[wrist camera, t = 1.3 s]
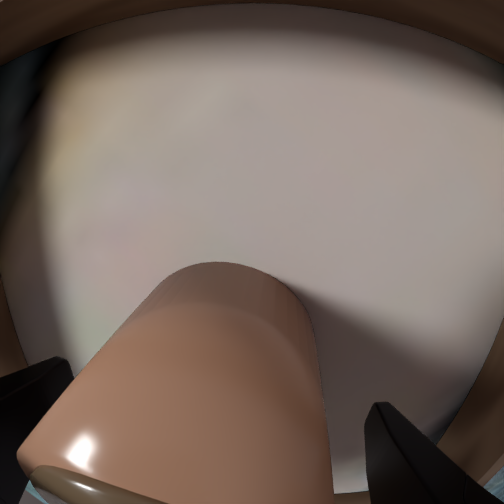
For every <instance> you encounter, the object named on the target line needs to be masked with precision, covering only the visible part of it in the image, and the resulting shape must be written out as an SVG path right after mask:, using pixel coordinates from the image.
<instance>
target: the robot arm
mask: <svg viewBox="0 0 504 504" xmlns="http://www.w3.org/2000/svg"><path fill="white" fill-rule="evenodd" d="M73 380H74V376H73V373H72V370H71V367H70V364H69V362H68V361H67V360H66V359H64V358H61V357H58V356H55V357H53V358H50V359H47V360H45V361H42V362H40V363H37V364H35V365H32V366H29V367H27V368H24V369H21V370H19V371H16V372H13V373H11V374H8V375H5V376H3V377H0V504H19V501H20V499H21V497H22V495H23V492H24V490H25V488H26V486H27V484H28V481H29V478H28V477H27V476H26V474H25V473H24V471H23V470H22V468H21V466H20V465H19V462H18V460H17V451H18V449H19V448H20V446H21V445H22V444H23V442H24V441H25V440H26V438H27V437H28V436H29V435H30V433H31V432H32V431H33V429H34V428H35V427H36V426H37V424H38V423H39V422H40V420H41V419H42V418H43V417H44V415H45V414H46V413H47V412H48V410H49V409H50V408H51V407H52V406H53V404H54V403H55V402H56V401H57V399H58V398H59V397H60V396H61V395H62V393H63V392H64V391H65V390H66V389H67V387H68V386H69V385H70V384H71V383H72V381H73ZM364 434H365V453H366V474H367V481H368V488H369V494H370V501H371V504H504V502H502V501H501V500H499V499H498V498H497V497H495V496H494V495H492V494H491V493H490V492H488V491H487V490H486V489H484V488H483V487H482V486H481V485H480V484H478V483H477V482H476V481H475V480H474V479H473V478H472V477H470V476H469V475H468V474H467V475H466V472H465V471H464V470H462V469H461V468H460V467H459V466H458V465H457V464H456V463H455V462H454V461H452V460H451V459H450V458H449V457H448V456H447V455H446V454H445V453H444V452H442V451H441V450H440V449H439V448H438V447H437V446H436V445H435V444H434V443H433V442H431V441H430V440H429V439H428V438H427V437H426V436H425V435H424V434H423V433H422V432H421V431H419V430H418V429H417V428H416V427H415V426H414V425H413V424H412V423H411V422H410V421H409V420H408V419H406V418H405V417H404V416H403V415H402V414H401V413H400V412H399V411H398V410H397V409H396V408H395V407H393V406H392V405H391V404H390V403H389V402H376V403H374V404H373V405H372V407H371V409H370V412H369V414H368V416H367V419H366V421H365V425H364Z"/></svg>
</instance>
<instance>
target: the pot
mask: <svg viewBox="0 0 504 504" xmlns="http://www.w3.org/2000/svg"><path fill="white" fill-rule="evenodd" d="M17 460H18V462H19V465H20V466H21V468H22V470H23V471H24V473H25V474H26V476H27V477H28V478H29V480H30V481H31V483H32V485H33V487H34V488H35V489H36V491H37V492H38V493H39V494H40V495H41V497H42V498H43V499H44V500H45V501H46V502H47V503H49V504H335V502H334V489H333V478H332V467H331V457H330V447H329V438H328V430H327V421H326V413H325V405H324V397H323V390H322V383H321V375H320V368H319V362H318V355H317V348H316V342H315V336H314V331H313V326H312V323H311V320H310V317H309V315H308V313H307V311H306V309H305V308H304V306H303V304H302V303H301V302H300V300H299V299H298V298H297V297H296V295H295V294H294V293H293V292H291V291H290V290H289V289H288V288H287V287H286V286H285V285H284V284H282V283H281V282H279V281H278V280H277V279H275V278H273V277H272V276H270V275H268V274H266V273H264V272H262V271H259V270H257V269H255V268H252V267H248V266H245V265H241V264H236V263H229V262H207V263H199V264H195V265H191V266H188V267H185V268H183V269H180V270H178V271H176V272H175V273H173V274H171V275H169V276H168V277H167V278H166V279H164V280H163V281H162V282H161V283H160V284H159V285H158V286H157V287H156V288H155V289H154V290H153V291H152V292H151V293H150V294H149V296H148V297H147V298H146V299H145V300H144V301H143V302H142V303H141V304H140V305H139V306H138V307H137V309H136V310H135V311H134V312H133V313H132V314H131V315H130V316H129V317H128V318H127V320H126V321H125V322H124V323H123V324H122V325H121V326H120V327H119V328H118V330H117V331H116V332H115V333H114V334H113V335H112V336H111V337H110V338H109V340H108V341H107V342H106V343H105V344H104V345H103V346H102V348H101V349H100V350H99V351H98V352H97V353H96V354H95V356H94V357H93V358H92V359H91V360H90V361H89V363H88V364H87V365H86V366H85V367H84V368H83V370H82V371H81V372H80V373H79V374H78V375H77V377H76V378H75V379H74V380H73V381H72V383H71V384H70V385H69V386H68V387H67V389H66V390H65V391H64V392H63V393H62V395H61V396H60V397H59V398H58V399H57V401H56V402H55V403H54V404H53V406H52V407H51V408H50V409H49V410H48V412H47V413H46V414H45V415H44V417H43V418H42V419H41V420H40V422H39V423H38V424H37V426H36V427H35V428H34V429H33V431H32V432H31V433H30V435H29V436H28V437H27V438H26V440H25V441H24V442H23V444H22V445H21V446H20V448H19V449H18V451H17Z"/></svg>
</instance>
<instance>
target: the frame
mask: <svg viewBox="0 0 504 504" xmlns="http://www.w3.org/2000/svg"><path fill="white" fill-rule="evenodd" d="M228 3H279V4H296V5H307V6H317V7H325V8H332V9H339V10H345V11H351V12H356V13H361V14H366V15H371V16H375V17H379V18H384V19H388V20H391V21H395V22H399V23H402V24H406V25H409V26H412V27H416V28H419V29H422V30H425V31H428V32H431V33H434V34H436V35H439V36H442V37H444V38H447V39H450V40H452V41H455V42H457V43H459V44H462V45H464V46H466V47H469V48H471V49H473V50H475V51H477V52H480V53H482V54H484V55H486V56H488V57H490V58H492V59H494V60H496V61H498V62H499V63H501V64H503V65H504V0H0V66H2V65H4V64H6V63H8V62H9V61H11V60H13V59H15V58H17V57H19V56H21V55H23V54H25V53H27V52H30V51H32V50H34V49H36V48H38V47H41V46H43V45H45V44H48V43H50V42H53V41H55V40H58V39H60V38H63V37H65V36H68V35H71V34H74V33H76V32H79V31H82V30H85V29H88V28H91V27H95V26H98V25H101V24H105V23H108V22H112V21H116V20H120V19H124V18H128V17H132V16H137V15H141V14H146V13H151V12H157V11H162V10H169V9H175V8H183V7H191V6H200V5H212V4H228ZM27 367H28V365H27V362H26V360H25V357H24V355H23V352H22V349H21V346H20V344H19V341H18V338H17V335H16V332H15V329H14V325H13V322H12V319H11V316H10V312H9V309H8V305H7V301H6V297H5V293H4V289H3V285H2V281H1V276H0V377H3V376H5V375H8V374H11V373H13V372H16V371H19V370H21V369H24V368H27ZM436 446H437V447H438V448H439V449H440V450H441V451H442V452H444V453H445V454H446V455H447V456H448V457H449V458H450V459H451V460H452V461H454V462H455V463H456V464H457V465H458V466H459V467H460V468H461V469H462V470H464V471H465V472H466V475H467V474H468V475H469V476H470V477H472V478H473V479H474V480H475V481H476V482H477V483H478V484H480V485H481V486H482V487H483V486H484V485H485V484H486V483H487V482H488V481H489V480H490V479H491V478H492V477H493V476H494V475H495V474H496V473H497V472H498V471H499V470H500V469H501V468H502V467H503V466H504V318H503V321H502V324H501V326H500V329H499V331H498V334H497V336H496V339H495V341H494V344H493V346H492V348H491V350H490V353H489V355H488V357H487V359H486V361H485V363H484V366H483V368H482V370H481V372H480V374H479V376H478V378H477V380H476V381H475V383H474V385H473V387H472V389H471V391H470V393H469V394H468V396H467V398H466V400H465V401H464V403H463V405H462V407H461V408H460V410H459V412H458V413H457V415H456V416H455V418H454V420H453V421H452V423H451V424H450V426H449V427H448V429H447V430H446V432H445V433H444V435H443V436H442V438H441V439H440V441H439V442H438V443H437V445H436ZM334 502H335V504H371V501H370V494H369V491H367V492H358V493H347V494H334Z"/></svg>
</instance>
